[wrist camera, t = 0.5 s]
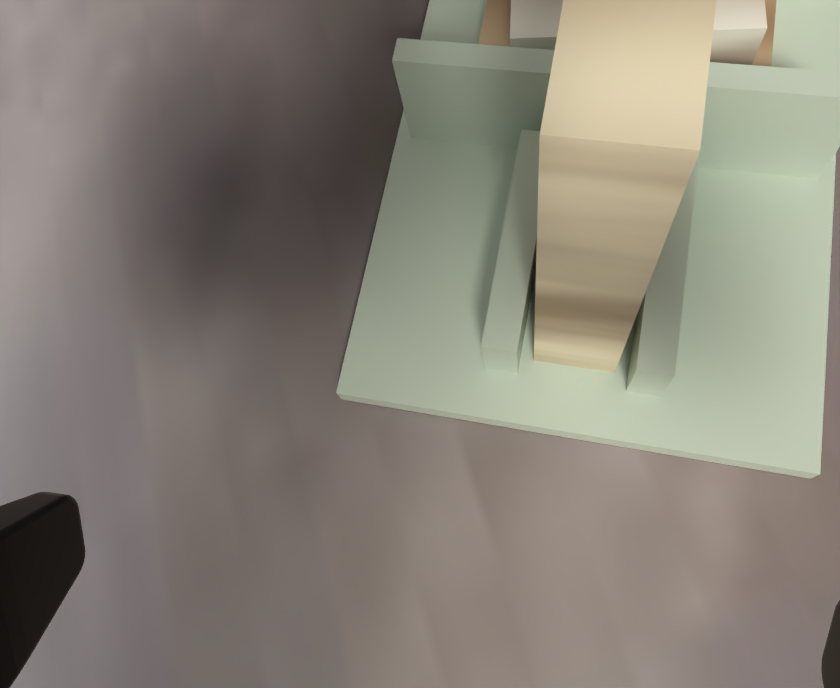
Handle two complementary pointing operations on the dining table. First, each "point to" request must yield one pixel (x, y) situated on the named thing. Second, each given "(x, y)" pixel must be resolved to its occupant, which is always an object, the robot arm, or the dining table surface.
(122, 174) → the dining table surface
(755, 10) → the white offcut
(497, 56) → the offcut rack
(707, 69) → the birch board
